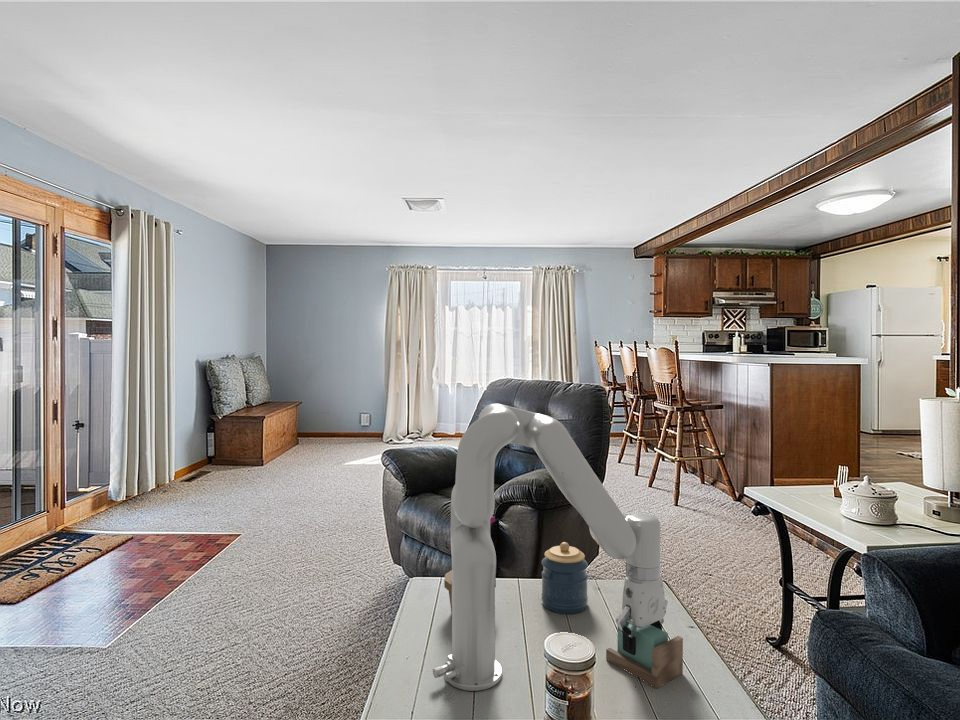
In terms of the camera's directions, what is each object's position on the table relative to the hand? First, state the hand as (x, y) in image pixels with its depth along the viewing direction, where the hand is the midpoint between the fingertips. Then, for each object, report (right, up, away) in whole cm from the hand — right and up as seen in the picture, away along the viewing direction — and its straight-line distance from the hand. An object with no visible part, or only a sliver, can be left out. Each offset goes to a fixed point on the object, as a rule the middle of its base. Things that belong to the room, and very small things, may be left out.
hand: (642, 645), depth 127 cm
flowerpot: (-40, -5, +26) cm, 47 cm away
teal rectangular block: (0, -5, 0) cm, 5 cm away
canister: (-13, -4, +31) cm, 34 cm away
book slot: (0, -5, 0) cm, 5 cm away
